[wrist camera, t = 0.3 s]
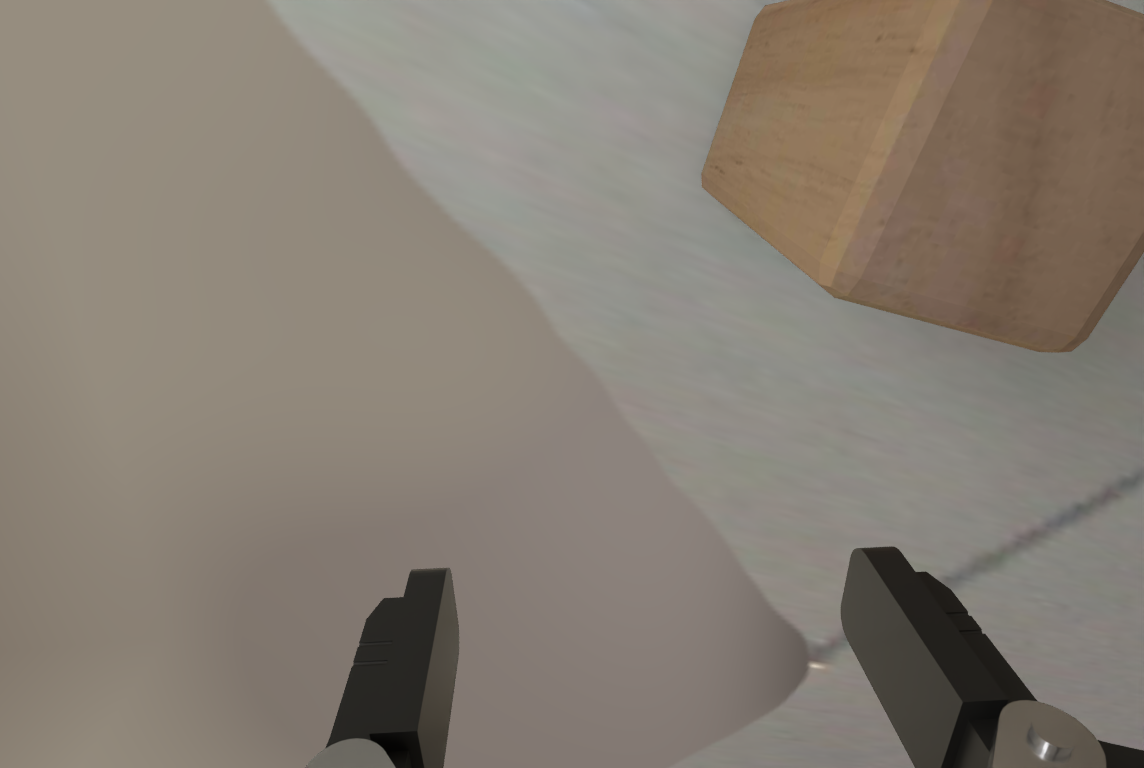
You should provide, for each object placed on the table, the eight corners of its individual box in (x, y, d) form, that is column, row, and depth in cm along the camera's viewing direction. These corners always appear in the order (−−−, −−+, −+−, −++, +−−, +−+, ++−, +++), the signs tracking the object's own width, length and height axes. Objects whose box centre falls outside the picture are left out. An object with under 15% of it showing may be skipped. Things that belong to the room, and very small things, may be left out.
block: (924, 55, 37) (1292, 56, 19) (845, 231, 41) (1083, 369, 23) (756, -2, 35) (981, -59, 17) (692, 187, 39) (818, 300, 21)
